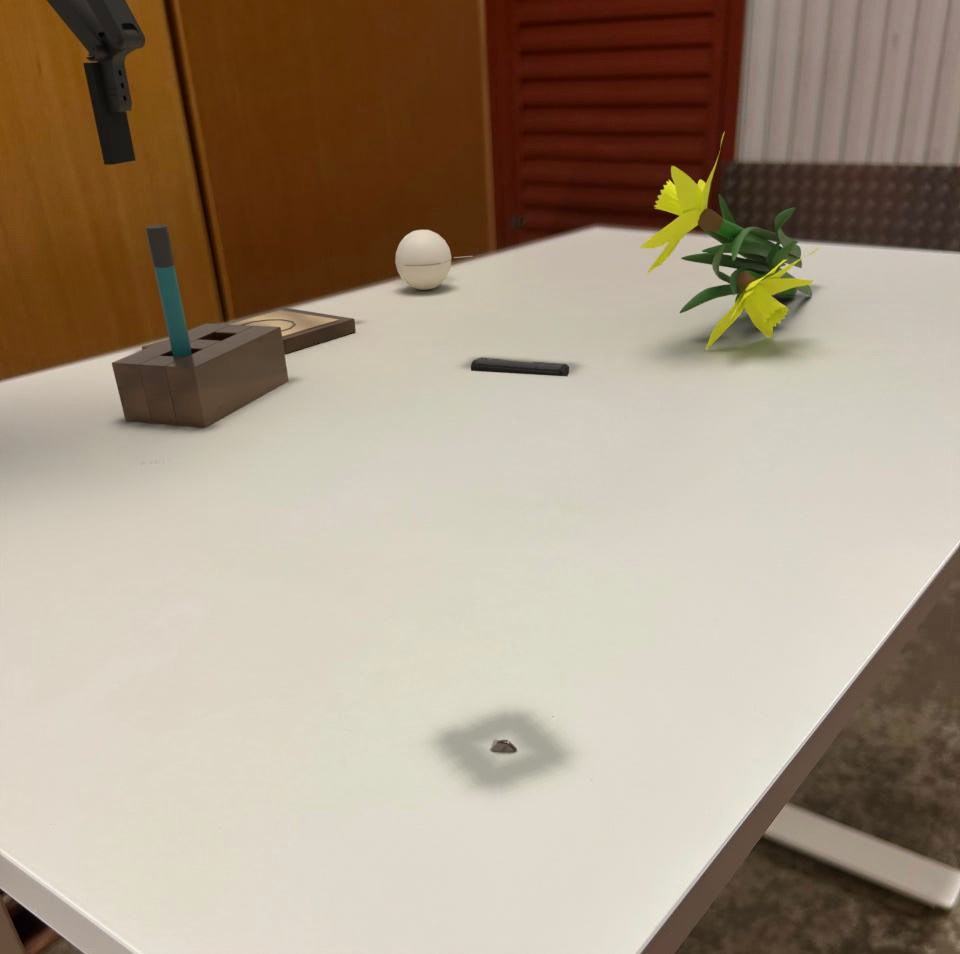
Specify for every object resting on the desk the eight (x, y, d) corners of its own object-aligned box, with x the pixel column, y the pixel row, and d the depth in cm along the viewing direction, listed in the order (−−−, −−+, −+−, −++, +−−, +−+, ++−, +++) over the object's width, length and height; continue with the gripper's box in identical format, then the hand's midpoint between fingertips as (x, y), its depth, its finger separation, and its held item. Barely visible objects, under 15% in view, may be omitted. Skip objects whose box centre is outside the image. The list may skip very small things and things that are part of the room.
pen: (182, 423, 87) (140, 228, 79) (193, 417, 88) (154, 224, 80) (198, 424, 86) (158, 228, 78) (209, 418, 88) (171, 224, 80)
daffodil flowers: (879, 309, 113) (815, 283, 83) (759, 369, 121) (662, 366, 91) (821, 171, 112) (737, 97, 83) (705, 241, 120) (590, 196, 91)
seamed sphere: (390, 295, 128) (384, 235, 124) (407, 283, 134) (402, 225, 130) (464, 295, 126) (461, 234, 122) (479, 283, 132) (476, 224, 128)
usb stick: (572, 376, 93) (572, 360, 92) (562, 384, 91) (562, 368, 90) (480, 369, 97) (479, 353, 96) (469, 377, 95) (468, 360, 94)
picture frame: (213, 376, 99) (210, 359, 98) (144, 360, 106) (140, 344, 105) (356, 332, 112) (354, 317, 111) (286, 320, 119) (284, 306, 118)
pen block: (127, 432, 86) (111, 362, 82) (217, 386, 96) (205, 323, 93) (207, 439, 83) (193, 368, 80) (290, 391, 94) (280, 326, 91)
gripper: (156, -205, 64) (212, 157, 75) (-129, -166, 72) (-39, 156, 83) (78, -228, 58) (152, 169, 69) (-223, -183, 66) (-113, 167, 77)
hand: (48, 162), depth 76 cm, fingers open, 13 cm apart
